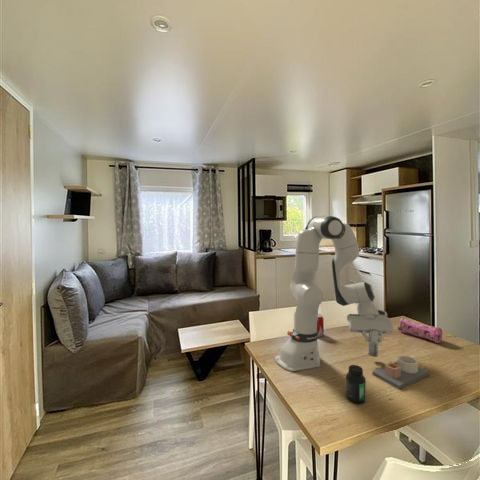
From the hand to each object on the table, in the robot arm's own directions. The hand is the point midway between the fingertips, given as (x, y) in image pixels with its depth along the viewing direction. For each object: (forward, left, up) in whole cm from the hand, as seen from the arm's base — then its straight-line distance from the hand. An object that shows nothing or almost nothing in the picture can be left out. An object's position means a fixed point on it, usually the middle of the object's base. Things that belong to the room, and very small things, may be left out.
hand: (374, 341), depth 128 cm
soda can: (-1, +36, -10) cm, 38 cm away
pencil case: (+47, +5, -10) cm, 49 cm away
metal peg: (0, +1, -7) cm, 7 cm away
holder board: (0, -13, -10) cm, 16 cm away
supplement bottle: (-31, -15, -10) cm, 35 cm away
